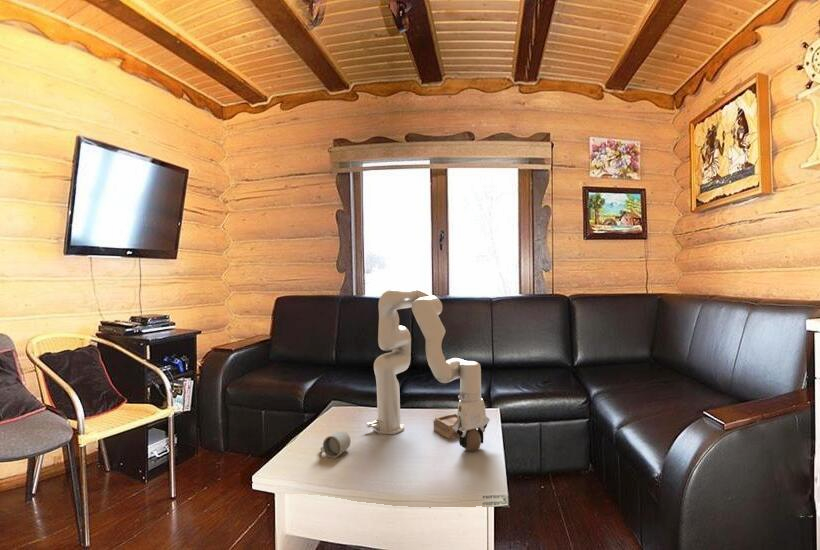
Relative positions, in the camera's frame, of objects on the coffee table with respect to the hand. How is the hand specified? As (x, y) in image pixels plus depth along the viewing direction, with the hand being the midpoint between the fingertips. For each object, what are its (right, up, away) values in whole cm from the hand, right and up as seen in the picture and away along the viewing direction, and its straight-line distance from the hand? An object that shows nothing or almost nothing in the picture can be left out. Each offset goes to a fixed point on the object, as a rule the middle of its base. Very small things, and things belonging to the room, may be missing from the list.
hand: (471, 443), depth 149 cm
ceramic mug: (-50, -4, 0) cm, 51 cm away
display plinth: (-5, -2, +17) cm, 18 cm away
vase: (0, -2, 0) cm, 2 cm away
